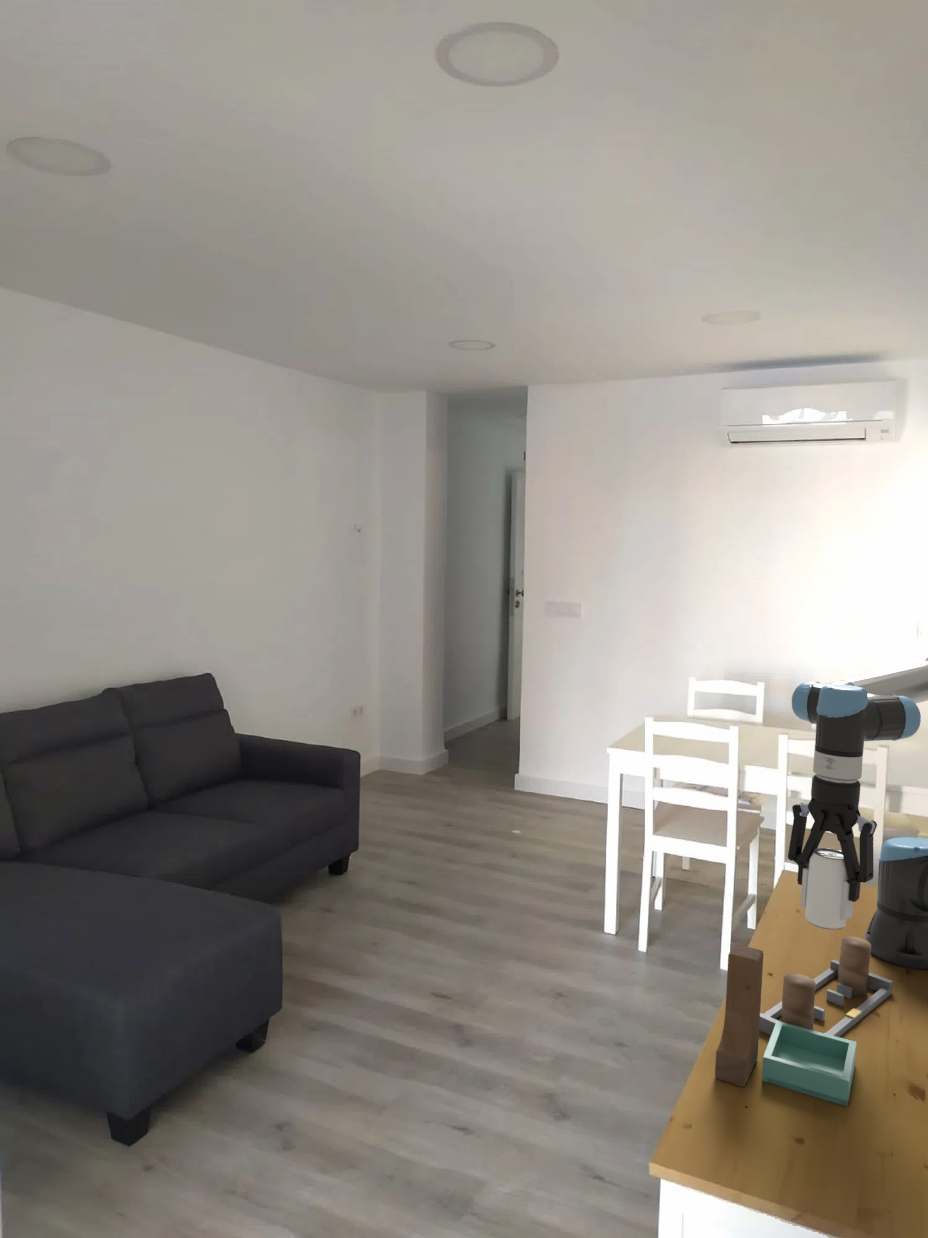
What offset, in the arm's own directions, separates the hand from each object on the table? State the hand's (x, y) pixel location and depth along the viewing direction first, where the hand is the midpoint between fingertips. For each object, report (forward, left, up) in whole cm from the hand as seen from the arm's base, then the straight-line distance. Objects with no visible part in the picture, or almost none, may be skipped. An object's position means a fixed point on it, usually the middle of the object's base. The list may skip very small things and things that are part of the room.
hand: (825, 911), depth 151 cm
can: (0, 0, -2) cm, 2 cm away
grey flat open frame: (-4, -3, -20) cm, 20 cm away
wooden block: (+23, +6, -20) cm, 31 cm away
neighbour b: (+6, +1, -20) cm, 21 cm away
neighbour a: (-15, -7, -20) cm, 25 cm away
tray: (+13, +11, -20) cm, 26 cm away
